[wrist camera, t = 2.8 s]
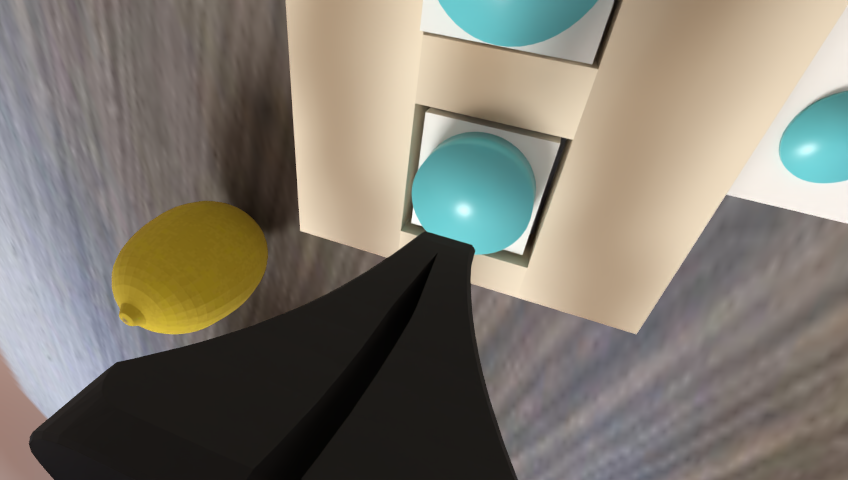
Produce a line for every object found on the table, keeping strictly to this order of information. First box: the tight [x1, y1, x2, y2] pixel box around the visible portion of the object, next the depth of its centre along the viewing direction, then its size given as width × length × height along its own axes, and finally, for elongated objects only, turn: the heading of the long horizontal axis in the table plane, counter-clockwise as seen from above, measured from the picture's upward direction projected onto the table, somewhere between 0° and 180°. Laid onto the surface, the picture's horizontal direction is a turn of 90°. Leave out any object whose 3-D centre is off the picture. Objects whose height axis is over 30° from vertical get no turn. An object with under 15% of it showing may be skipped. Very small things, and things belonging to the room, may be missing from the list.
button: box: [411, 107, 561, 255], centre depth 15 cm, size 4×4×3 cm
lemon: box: [112, 201, 268, 334], centre depth 19 cm, size 6×6×8 cm
